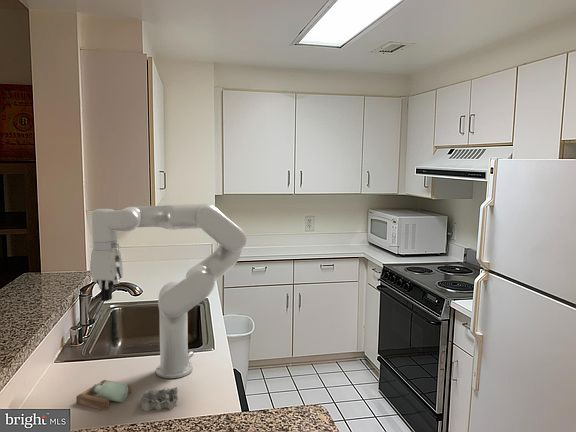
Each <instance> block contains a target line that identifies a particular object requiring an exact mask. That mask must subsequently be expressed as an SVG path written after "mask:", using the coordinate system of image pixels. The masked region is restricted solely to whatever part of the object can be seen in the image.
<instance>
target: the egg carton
mask: <svg viewBox="0 0 576 432" xmlns="http://www.w3.org/2000/svg"><path fill="white" fill-rule="evenodd" d="M178 391H179V390H178V387H177V386H176V387H172V388H167V389H166V388H163V389H147V390H146V391H144V392H143V393H142V396H141V399H140V403H141V410H144V411H145V412H149V411H150V410H152V409H156V410H157V411H159V410H160V411H161V410H162V409H163V408H168V409H169V410H170V409H173V408H175V407H177V406H178V403H177V402H178ZM160 399H161V402H160V401H159V400H160ZM170 399H172V401H170Z"/></svg>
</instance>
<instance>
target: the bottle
mask: <svg viewBox="0 0 576 432" xmlns="http://www.w3.org/2000/svg"><path fill="white" fill-rule="evenodd" d="M108 381H109V380H107V381H106V382H104V383H103V384H102V386H101V385H98V383H96V384H94V385H92V387H93V388H92V393H93V394H96V395H98V394H99V398H104V399H109V401H113V402H120V403H123V402H124V401H125V400H126V399H127V397H128V395H129V394H128V385H129V384H127V383H121V382H117V383H115V382H116V381H112V382H108ZM127 394H128V395H127Z"/></svg>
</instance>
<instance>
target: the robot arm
mask: <svg viewBox="0 0 576 432" xmlns="http://www.w3.org/2000/svg"><path fill="white" fill-rule="evenodd" d="M91 226H92V228H91V230H92V231H91V232H92V250H91V254H90V263H89V265H90V266H89V272H90V274H89V275H90V277H91V278H92V279H91V280H92V282H94V283H95V284H97V286H98V287H99V289H100V292H101V294H100V295H101V297H100V298H101V301H102V302H108V301H111V300H113V288H114V286H115V285H119V284H121V279H122V278H123V276H124V271H123V263H122V262H123V261H122V260H123V259H122V256H121V252H120V249H118V248H119V247H120V243H118V237H117V236H118V233H117V232H118V231H119V232H131V231H135V230H136V229H137V228H162V229H166V230H170V231H171V230H174V231H175V230H188V229H189V230H191V229H194V230H195V229H196V230H197V229H201V230H202V231H203V232H204V233H206V234H207V235H208V236H209V237H210V238H212V239H213V240H214V241H215V242H217V244H219V245H218V246H217V248H216V250H214V251H213V252H212V253H211V254H210V255H208V256H207V257H206V258H204V259H203V260H201V261H200V262H198V263H197V264H195V265H194V266H192V267H191V268H190V269H188V270H187V272H186V273H185V274H186V275H185V278H184V279H182V280H181V281H179V282H177V281H171V282H166V284H164V285H163V286H162V287H161V289H160V291H159V294H158V302H157V305H158V307H157V308H158V310H159V349H160V350H159V357H160V358H159V361H160V362H159V363H160V364H159V365H157V367H156V368H155V375H156V376H158V377H159V378H163V379H178V378H183V377H185V376H187V375H190V373H192V371H193V364H192V363H191V362H190V361H189V360H190V358H192V357H193V356H194V355H195V354H194V352H193V351H192V350H191V351H189V346H188V343H189V340H188V339H189V338H188V333H189V332H188V326H189V325H188V323H189V322H188V320H189V319H188V317H189V315H188V312H189V311H190V310H192V309H194V307H195V306H197V305H198V304H200V303H201V302H202V301H203V300H205V299H206V298H208V296H210V294H211V293H212V292H213V291H214V288H215V284H216V281H218V280H219V279H220V278H222V277H223V276H224V275H225V274H226V273H228V272H229V271H231V270H232V268H233V267H234V266H235V265H236V264H237V263H238V261H239V259H240V257H241V255H242V251H243V249H244V247H245V246H246V245H247V235H246V233H245V231H244V230H243V229H242V228H241V227H240V226H238V225H236V223H234V222H233V221H232V220H231V219H229V218H228V217H227V216H226V215H225V214H224V213H222V211H221V210H219V209H218V208H217V207H216V206H215V205H213V204H211V203H191V204H190V203H188V204H167V205H166V204H165V205H149V206H148V205H145V206H144V205H143V206H126V207H125V208H123V209H116V210H115V209H113V208H97V209H94V210H93V211H92V212H91Z"/></svg>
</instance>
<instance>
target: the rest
mask: <svg viewBox="0 0 576 432" xmlns="http://www.w3.org/2000/svg"><path fill="white" fill-rule="evenodd" d="M106 381H108V382H113V381H111V380H107V379H103V380H101V381H100V382H98V383H97V384H98V385H101V386H102V384H103V383H104V382H106ZM114 382H115V383H118V381H117V382H116V381H114ZM127 385H128V394H127V396H129V394H131V393H132V385H131V384H127ZM92 388H93V386H92V387H89V388H88V389H86V390H85V391H83V392H81V393H79V394H78V395H76V404H77V405H81V406H85V407H89V408H94V409H98V410H102V411H103V410H104V411H106V410H108V409H109V408H110V400H109V399H104V398H100V396H99V397H98V396H96V395H97V394H93V393H92Z"/></svg>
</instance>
